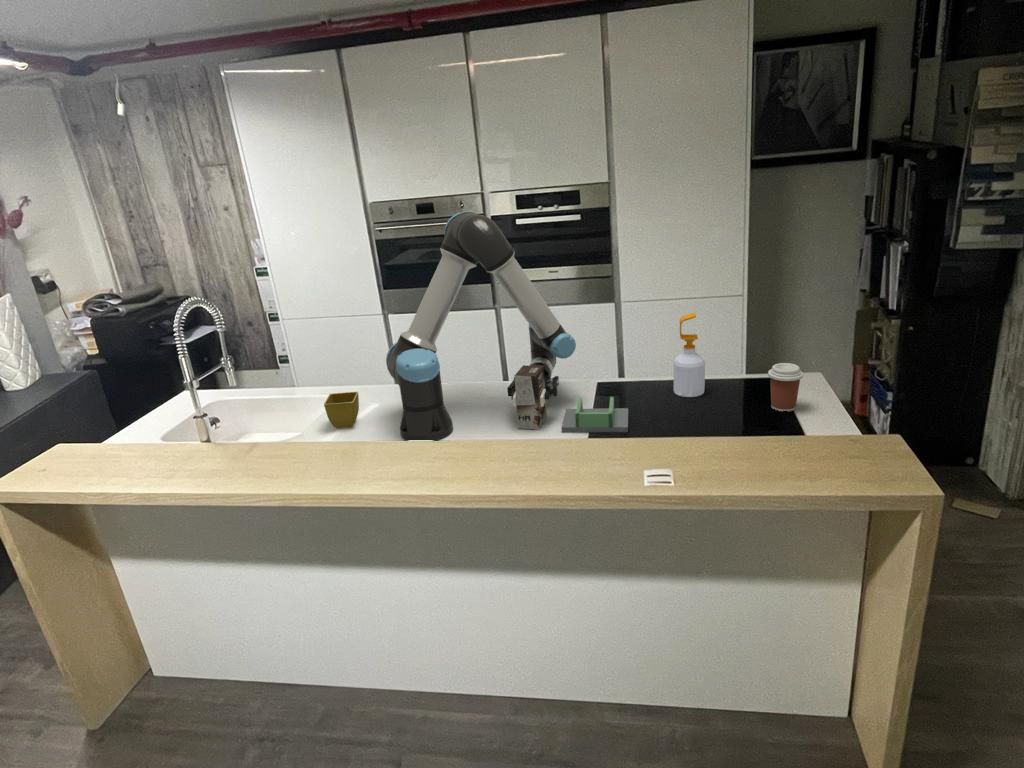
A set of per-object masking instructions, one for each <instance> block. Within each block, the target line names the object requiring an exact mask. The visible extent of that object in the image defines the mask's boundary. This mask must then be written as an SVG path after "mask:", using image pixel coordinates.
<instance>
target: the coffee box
mask: <svg viewBox="0 0 1024 768" xmlns="http://www.w3.org/2000/svg"><path fill="white" fill-rule="evenodd" d="M529 365H530V364H529ZM529 365H522V366H521V367H520V369H519V370H518V371H517V372H516V373H515V375H514V377H515V390H516V404H517V406H516V416H517V417H516V418H517V429H526V430H536V429H538V430H540V428H541V427H542V425H543V424H542V423H544V422H545V421H546V419H547V417H548V416H547V415H548V414H547V402H546V401H547V400H545V403H544V406H543V407H541V403H540V396H541V393H542V391H543V389H545V382H544V366H539V365H530V366H529Z"/></svg>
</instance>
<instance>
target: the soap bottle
mask: <svg viewBox="0 0 1024 768" xmlns="http://www.w3.org/2000/svg"><path fill="white" fill-rule="evenodd" d="M695 318H697V314H696V312H691V313H689V314H684V315H682V316H681V317H680V319H679V337H680V339H681V340H683V341H684V342H686V344H684V345H683V352H682V353H681V354H679V355H678V356H676V357H675V359H674V360H673V393H674V394H675V395H677V396H679V397H683V398H696V397H700V396H702V395H704V393H705V387H706V386H705V379H706V377H705V376H706V375H705V374H706V362H705V361H706V360H705V359H704V357H703V356H702V355H700V354H698V353H696V345H695V344H693V342H695V340H698V339H699V338H698V337H699V336H698V334H694V333H693V334H683V333H682V324H683V323H684V322H685V321H689V320H692V319H695Z"/></svg>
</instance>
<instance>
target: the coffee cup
mask: <svg viewBox="0 0 1024 768" xmlns="http://www.w3.org/2000/svg"><path fill="white" fill-rule="evenodd" d="M767 376H768V377H769V379H770V382H769V383H770V402H771V404H770V407H771V409H773V410H774V409H775V411H777V410H778V411H777V412H783V411H787V412H792V411H795V410H796V408H797V400H798V394H799V389H800V382H801V379H803V378H804V372H803V371H802V370H801V369H800V366H799V365H797V364H795V363H791V362H790V363H789V362H780V363H776V364H773V365H772V367H771V369H769V370H768V372H767Z"/></svg>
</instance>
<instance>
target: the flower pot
mask: <svg viewBox="0 0 1024 768" xmlns="http://www.w3.org/2000/svg"><path fill="white" fill-rule="evenodd" d="M359 400H360V399H359V391H346V392H337V393H336V392H335V393H329V395H328V396H327V398H326V400H325V401H324V403H323V407H324V409H325V413H326V415H327V419H328V421H329V422H330V424H331V425H332V426H333V427H334V428H335V429H347V428H353V427H354V425H355V423H356V421H357V418H358V415H359V410H360V409H359V406H360V403H359V402H360V401H359Z"/></svg>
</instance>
